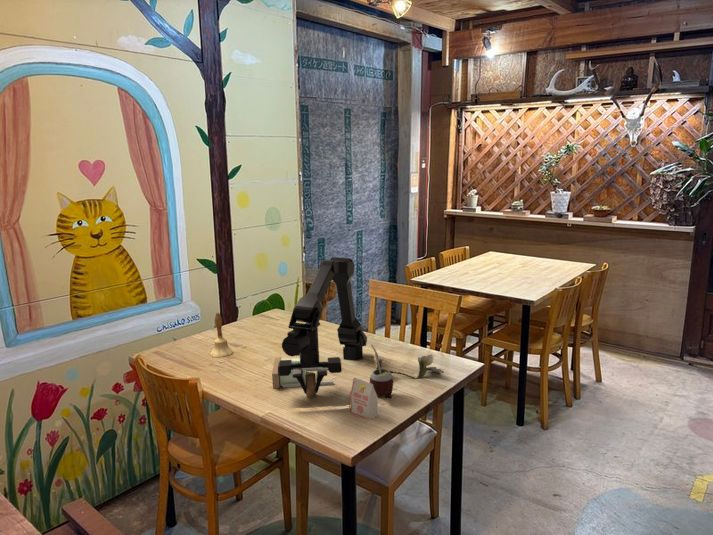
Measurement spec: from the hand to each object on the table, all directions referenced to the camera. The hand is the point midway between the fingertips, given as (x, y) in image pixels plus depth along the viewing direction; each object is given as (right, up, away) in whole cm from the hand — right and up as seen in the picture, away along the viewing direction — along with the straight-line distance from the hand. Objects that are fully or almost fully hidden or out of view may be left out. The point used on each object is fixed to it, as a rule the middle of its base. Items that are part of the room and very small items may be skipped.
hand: (311, 392), depth 156 cm
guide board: (-3, +1, +13) cm, 13 cm away
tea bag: (+16, -4, -9) cm, 19 cm away
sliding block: (-7, +2, +12) cm, 14 cm away
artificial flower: (+31, +2, +15) cm, 34 cm away
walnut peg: (0, -2, 0) cm, 2 cm away
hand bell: (-37, +5, +39) cm, 54 cm away
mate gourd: (+21, -2, +1) cm, 21 cm away
